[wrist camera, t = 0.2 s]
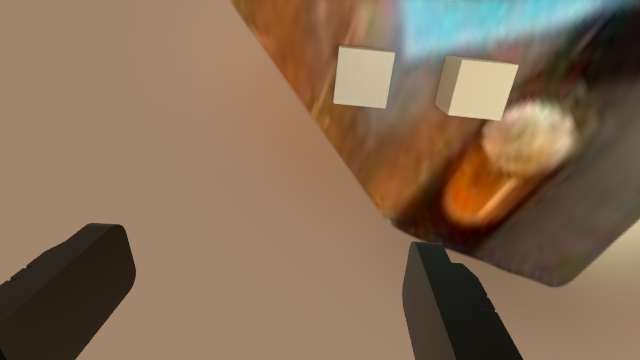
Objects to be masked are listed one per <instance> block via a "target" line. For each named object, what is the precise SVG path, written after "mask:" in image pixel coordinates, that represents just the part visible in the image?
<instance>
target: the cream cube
mask: <svg viewBox="0 0 640 360" xmlns="http://www.w3.org/2000/svg"><path fill="white" fill-rule="evenodd" d="M518 66H519V65H515V64H510V63H505V62H500V61H495V60H485V59H475V58H465V57H455V56H446V58H445V62H444V66H443V70H442V75H441V79H440V83H439V87H438V91H437V96H436V100H435V105H436V106H437V107H438V108H440V109H441V110H442V111H443V112H445V113H446V114H447V115H452V116H462V117H472V118H482V119H491V120H501V117H502V114H503V111H504V108H505V105H506V102H507V99H508V96H509V93H510V90H511V87H512V84H513V81H514V78H515V75H516V72H517V69H518Z"/></svg>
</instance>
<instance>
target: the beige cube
mask: <svg viewBox="0 0 640 360" xmlns="http://www.w3.org/2000/svg"><path fill="white" fill-rule="evenodd" d="M394 57H395V52H392V51H390V50H386V49H376V48H366V47H356V46H346V45H339V52H338V62H337V71H336V80H335V90H334V101H333V103H335V104H345V105H355V106H365V107H374V108H384V109H385V108H386V102H387V97H388V91H389V85H390V80H391V74H392V68H393V63H394Z"/></svg>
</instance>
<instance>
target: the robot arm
mask: <svg viewBox="0 0 640 360" xmlns="http://www.w3.org/2000/svg"><path fill="white" fill-rule="evenodd" d="M135 276H136V268H135V264H134V260H133V257H132V253H131V250H130V245H129V242H128V238H127V234H126V231H125V229H124V227H123V226H121V225H119V224H101V223H90V224H87V225H86V226H85V227H83V228H82V229H81V230H79V231H78V232H77V233H75V234H74V235H73V236H72V237H70V238H69V239H68V240H66V241H65V242H63V243H61V244H59V245H57V246H55V247H53V248H51V249H49V250H47V251H45V252H44V253H42V254H41V255H40V256H38V257H37V258H36V259H34V260H33V261H32V262H31V263H29V264H28V265H27V267H26V268H23V269H21V270H20V271H19V272H17V273H16V274H15V275H14V276H12V277H11V280H10V281H5V282H4V283H3V284H1V285H0V360H75V359H76V358H77V357H78V355H79V354H80V353H81V352H82V350H83V349H84V348H85V347H86V345H87V344H88V343H89V342H90V340H91V339H92V338H93V337H94V335H95V334H96V333H97V332H98V330H99V329H100V328H101V326H102V325H103V324H104V323H105V322H106V320H107V319H108V318H109V316H110V315H111V314H112V313H113V311H114V310H115V309H116V308H117V306H118V305H119V304H120V303H121V301H122V300H123V299H124V298H125V296H126V295H127V294H128V293H129V291H130V290H131V288H132V286H133V284H134V281H135ZM402 293H403V294H402V296H403V308H404V312H405V317H406V321H407V326H408V330H409V334H410V338H411V343H412V347H413V352H414V356H415V360H523V358H522V357H521V355H520V353H519V351H518V349H517V348H516V346H515V344H514V342H513V340H512V339H511V337H510V335H509V333H508V332H507V330H506V328H505V326H504V324H503V322H502V320H501V319H500V317H499V315H498V313H497V312H495V308H494V306H493V304H492V302H491V301H490V299H489V298H487V293H486V292H485V290H484V288H483V286H482V284H481V283H480V281H479V279H478V277H476V276H475V275H474V274H473V273H472V272H471V271H470V270H469V269H468V268H467V267H465V266H464V265H463V264H462V263H451V261H450V259H449V257H448V255H447V253H446V250H445V248H444V246H443V245H442V244H441V243H431V242H412V243H411V245H410V249H409V255H408V260H407V266H406V271H405V277H404V282H403V291H402Z"/></svg>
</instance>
